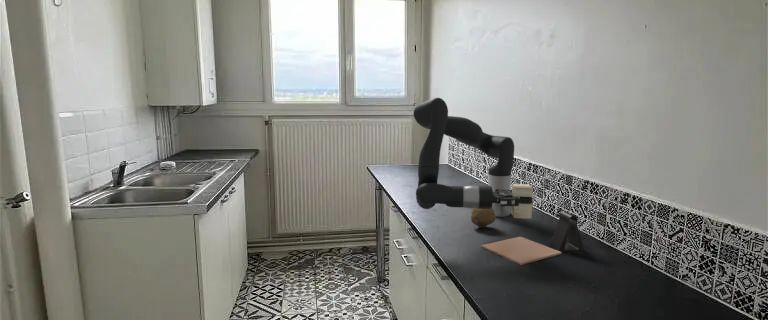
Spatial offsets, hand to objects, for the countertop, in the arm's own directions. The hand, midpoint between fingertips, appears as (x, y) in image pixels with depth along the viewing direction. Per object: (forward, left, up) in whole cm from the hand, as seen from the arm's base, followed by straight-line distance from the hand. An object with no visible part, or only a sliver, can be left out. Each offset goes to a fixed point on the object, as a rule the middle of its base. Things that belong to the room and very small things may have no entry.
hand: (529, 198), depth 145 cm
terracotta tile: (+2, -1, -18) cm, 18 cm away
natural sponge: (-4, -26, -18) cm, 32 cm away
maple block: (+2, -1, -6) cm, 7 cm away
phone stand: (-13, +5, -18) cm, 23 cm away
